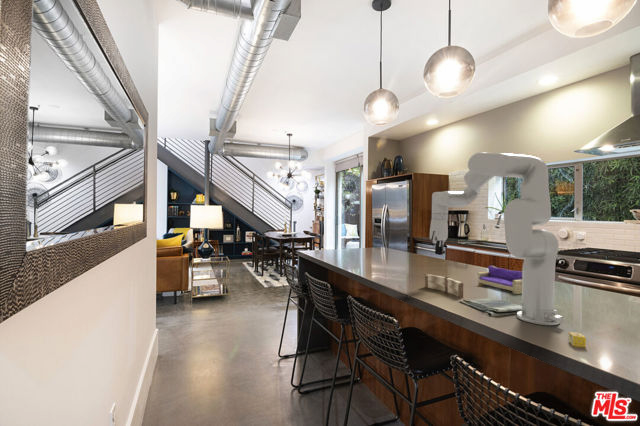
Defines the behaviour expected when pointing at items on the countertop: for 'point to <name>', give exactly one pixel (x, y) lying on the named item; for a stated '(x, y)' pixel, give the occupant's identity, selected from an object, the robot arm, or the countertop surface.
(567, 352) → the countertop surface
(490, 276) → the toy sofa
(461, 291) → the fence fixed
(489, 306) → the dish towel
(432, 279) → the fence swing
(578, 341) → the alphabet block
